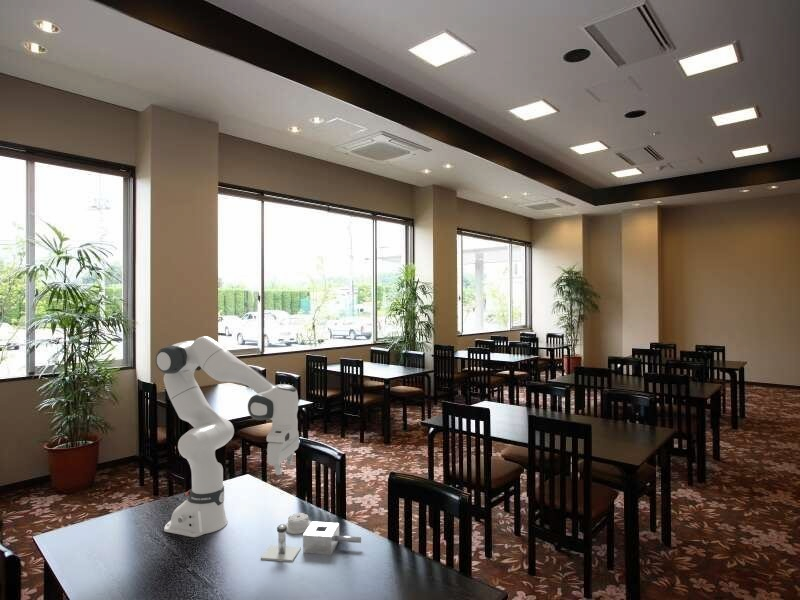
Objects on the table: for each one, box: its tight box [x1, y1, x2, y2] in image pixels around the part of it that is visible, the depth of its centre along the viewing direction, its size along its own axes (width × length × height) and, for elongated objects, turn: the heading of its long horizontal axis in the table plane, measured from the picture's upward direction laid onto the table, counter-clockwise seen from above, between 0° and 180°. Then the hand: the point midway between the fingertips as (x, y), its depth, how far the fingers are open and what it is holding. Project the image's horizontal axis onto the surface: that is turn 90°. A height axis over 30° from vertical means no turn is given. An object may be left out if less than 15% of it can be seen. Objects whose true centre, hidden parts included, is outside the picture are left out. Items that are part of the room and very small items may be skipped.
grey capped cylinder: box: [276, 523, 287, 554], centre depth 160 cm, size 3×3×9 cm
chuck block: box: [302, 520, 362, 555], centre depth 164 cm, size 19×10×6 cm, turn 82°
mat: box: [260, 544, 302, 563], centre depth 160 cm, size 11×8×1 cm
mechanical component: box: [285, 512, 312, 535], centre depth 178 cm, size 10×4×10 cm
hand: (283, 469), depth 168 cm, fingers open, 8 cm apart
